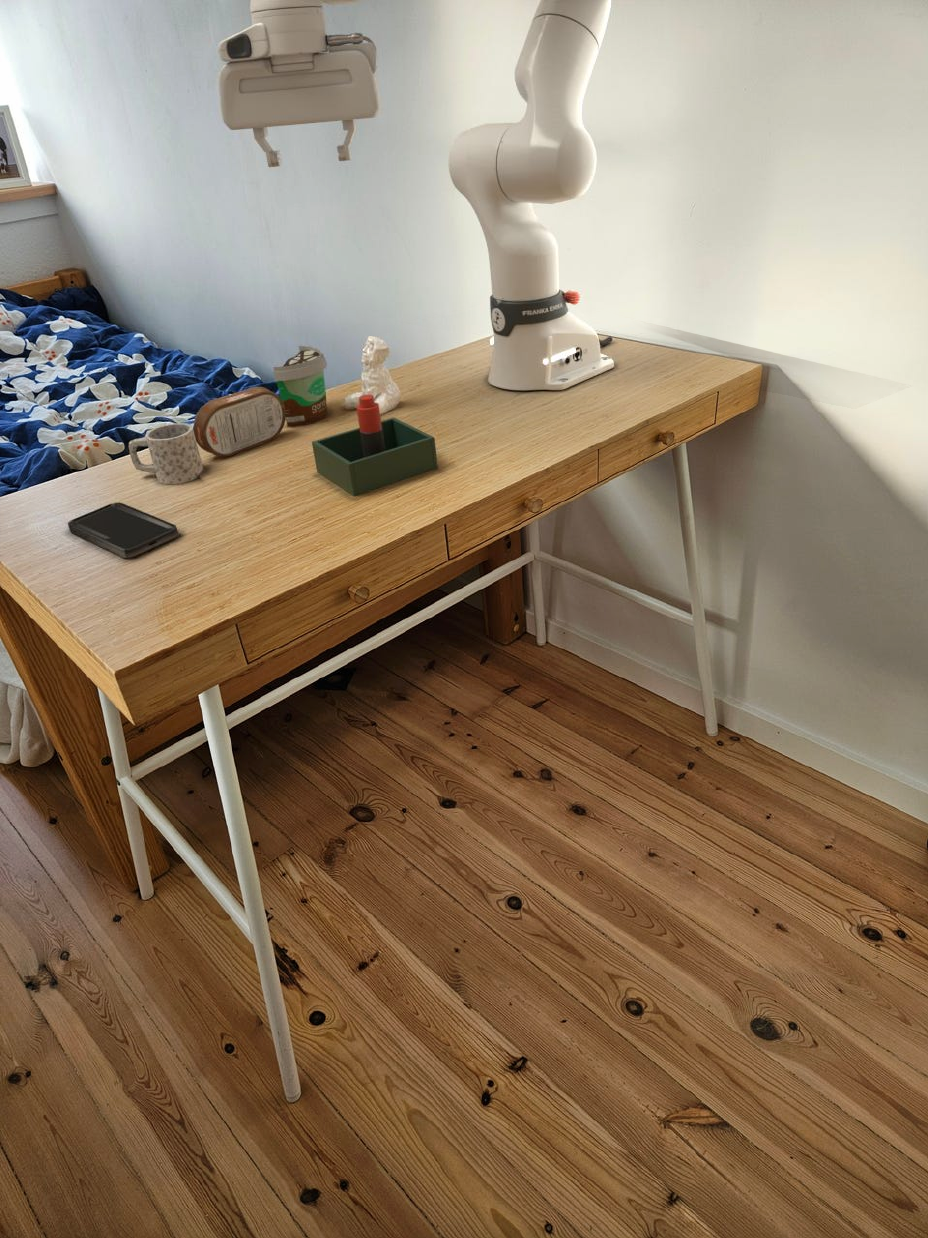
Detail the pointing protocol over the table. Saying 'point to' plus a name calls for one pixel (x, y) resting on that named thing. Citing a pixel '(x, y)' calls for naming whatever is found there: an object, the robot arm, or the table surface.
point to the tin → (239, 421)
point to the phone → (123, 529)
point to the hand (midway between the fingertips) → (310, 163)
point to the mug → (170, 453)
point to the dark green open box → (375, 457)
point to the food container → (303, 387)
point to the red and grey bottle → (370, 426)
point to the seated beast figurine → (376, 378)
